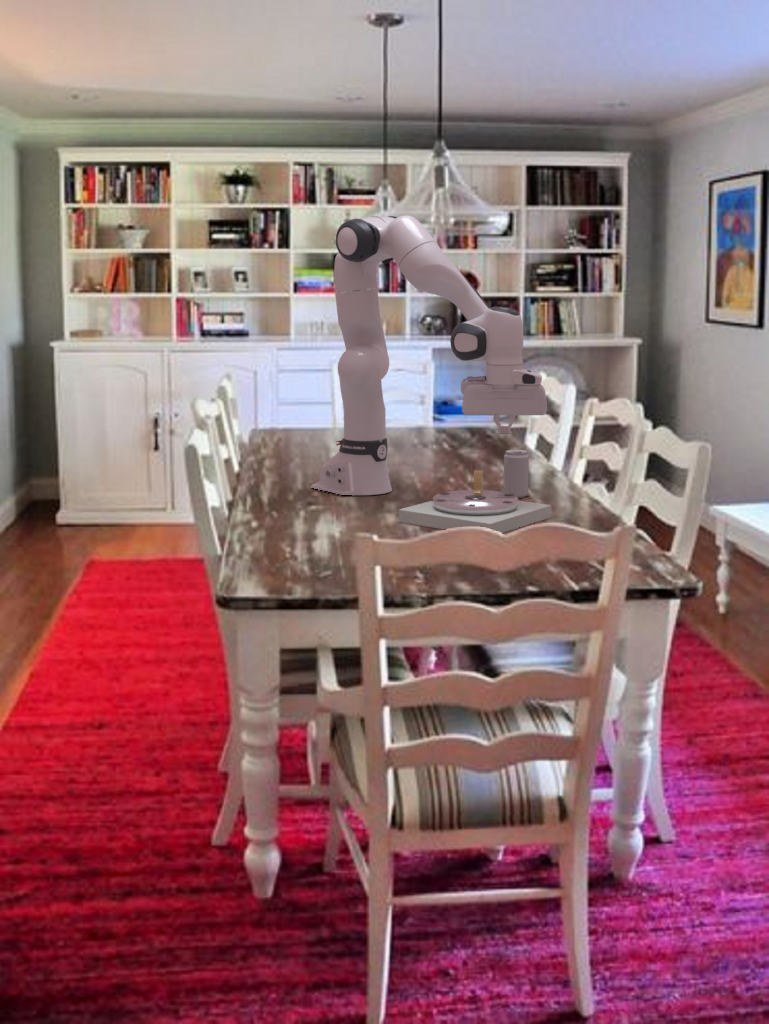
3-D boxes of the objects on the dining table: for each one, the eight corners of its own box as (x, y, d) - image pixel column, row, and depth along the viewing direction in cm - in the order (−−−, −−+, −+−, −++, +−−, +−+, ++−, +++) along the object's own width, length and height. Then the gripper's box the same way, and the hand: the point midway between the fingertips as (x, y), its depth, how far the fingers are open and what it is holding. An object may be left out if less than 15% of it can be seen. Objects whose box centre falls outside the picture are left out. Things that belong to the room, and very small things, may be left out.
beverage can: (508, 499, 311) (509, 453, 309) (499, 494, 317) (500, 449, 315) (531, 497, 313) (532, 452, 310) (522, 493, 319) (523, 448, 317)
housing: (398, 522, 286) (398, 508, 285) (462, 504, 305) (462, 491, 305) (490, 537, 270) (490, 522, 269) (551, 517, 289) (551, 504, 289)
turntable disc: (416, 507, 285) (416, 478, 284) (465, 494, 301) (465, 467, 299) (486, 518, 273) (487, 488, 272) (534, 504, 288) (534, 475, 287)
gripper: (459, 377, 286) (460, 435, 289) (546, 377, 283) (546, 435, 285) (462, 375, 292) (462, 432, 295) (547, 374, 289) (547, 432, 292)
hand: (504, 434), depth 290 cm, fingers closed
